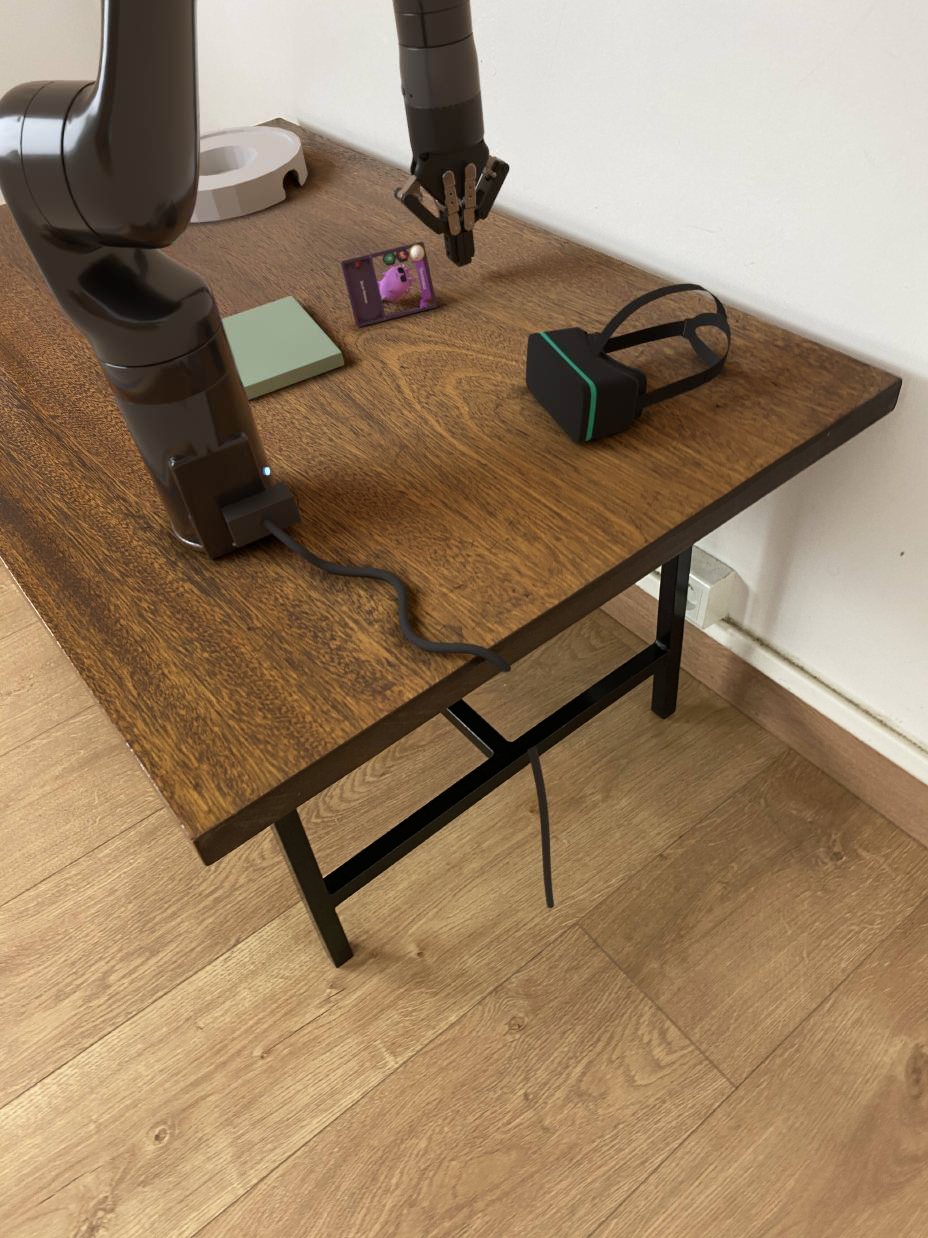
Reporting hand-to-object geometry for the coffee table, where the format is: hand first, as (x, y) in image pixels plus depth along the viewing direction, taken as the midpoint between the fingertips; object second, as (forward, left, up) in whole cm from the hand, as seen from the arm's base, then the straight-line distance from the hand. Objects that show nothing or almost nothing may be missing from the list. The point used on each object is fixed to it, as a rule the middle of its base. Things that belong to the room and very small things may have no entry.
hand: (461, 262), depth 100 cm
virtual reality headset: (-29, -3, -2) cm, 30 cm away
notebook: (0, +23, -2) cm, 23 cm away
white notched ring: (+48, +13, -2) cm, 50 cm away
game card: (0, +9, -2) cm, 9 cm away
